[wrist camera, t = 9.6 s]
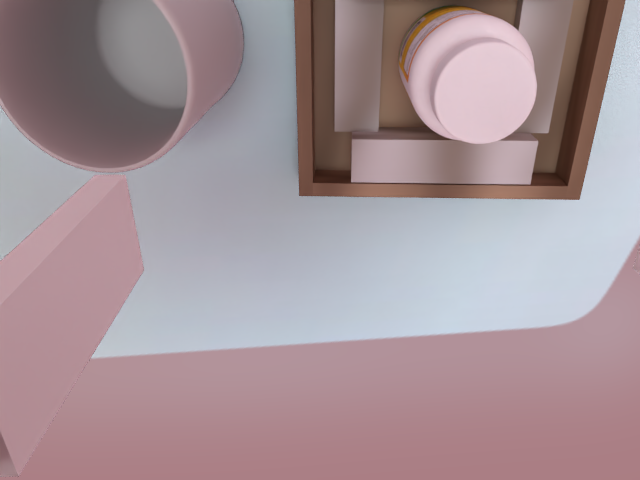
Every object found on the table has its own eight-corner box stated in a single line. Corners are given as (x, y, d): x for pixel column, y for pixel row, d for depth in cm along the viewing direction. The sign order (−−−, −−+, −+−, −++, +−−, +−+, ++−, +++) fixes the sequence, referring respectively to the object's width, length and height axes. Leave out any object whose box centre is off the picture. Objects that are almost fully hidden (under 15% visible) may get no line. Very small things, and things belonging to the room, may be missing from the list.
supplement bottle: (501, 93, 31) (561, 145, 22) (406, 115, 31) (427, 174, 23) (491, -9, 28) (553, 4, 20) (389, 18, 29) (405, 41, 20)
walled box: (303, 177, 34) (298, 197, 31) (297, -79, 28) (291, -84, 25) (561, 180, 34) (581, 201, 31) (616, -83, 27) (648, -88, 24)
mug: (268, 83, 32) (231, 137, 22) (142, 131, 34) (56, 201, 24) (174, -150, 27) (72, -213, 17) (31, -80, 29) (-135, -100, 19)
